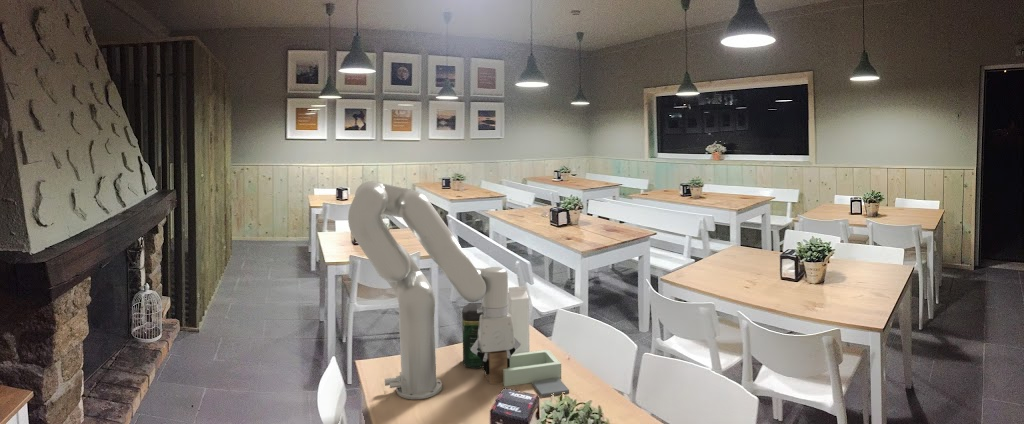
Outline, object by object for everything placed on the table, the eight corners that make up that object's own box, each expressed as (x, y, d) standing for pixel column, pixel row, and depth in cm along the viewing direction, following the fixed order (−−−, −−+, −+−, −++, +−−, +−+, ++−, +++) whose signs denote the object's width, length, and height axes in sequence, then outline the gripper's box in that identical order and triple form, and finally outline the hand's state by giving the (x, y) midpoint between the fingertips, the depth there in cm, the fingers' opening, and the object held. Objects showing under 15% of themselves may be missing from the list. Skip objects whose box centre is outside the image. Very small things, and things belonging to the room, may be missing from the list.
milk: (529, 354, 175) (529, 288, 172) (511, 357, 173) (511, 290, 170) (524, 347, 180) (523, 283, 177) (506, 349, 179) (505, 285, 176)
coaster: (541, 396, 146) (541, 394, 146) (532, 384, 153) (532, 381, 153) (569, 392, 148) (569, 389, 148) (558, 380, 156) (558, 377, 156)
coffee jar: (489, 368, 164) (488, 309, 162) (463, 370, 164) (461, 310, 161) (488, 356, 174) (487, 300, 171) (463, 357, 173) (461, 301, 171)
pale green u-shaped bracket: (504, 386, 152) (504, 371, 152) (495, 370, 163) (494, 356, 162) (561, 378, 157) (561, 363, 156) (548, 363, 167) (548, 349, 167)
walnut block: (490, 384, 154) (489, 354, 152) (485, 375, 159) (485, 346, 158) (507, 381, 155) (507, 351, 154) (502, 373, 161) (501, 344, 160)
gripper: (468, 318, 149) (470, 380, 151) (527, 311, 153) (528, 372, 156) (463, 309, 156) (464, 370, 158) (519, 304, 160) (520, 362, 163)
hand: (496, 370), depth 157 cm, fingers closed on walnut block, 5 cm apart
